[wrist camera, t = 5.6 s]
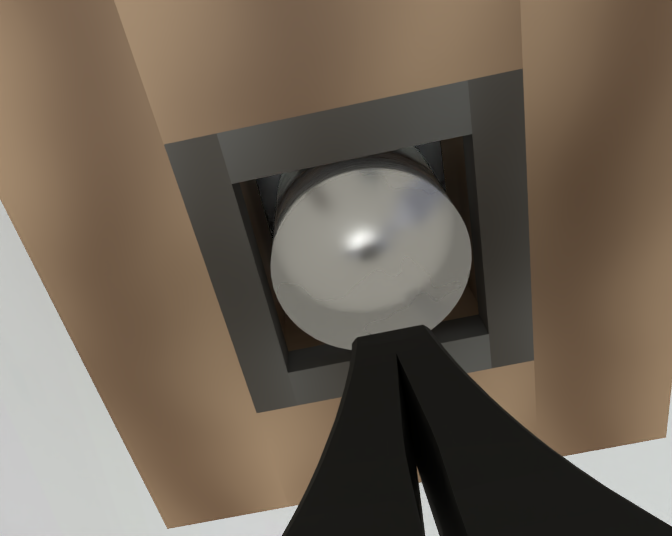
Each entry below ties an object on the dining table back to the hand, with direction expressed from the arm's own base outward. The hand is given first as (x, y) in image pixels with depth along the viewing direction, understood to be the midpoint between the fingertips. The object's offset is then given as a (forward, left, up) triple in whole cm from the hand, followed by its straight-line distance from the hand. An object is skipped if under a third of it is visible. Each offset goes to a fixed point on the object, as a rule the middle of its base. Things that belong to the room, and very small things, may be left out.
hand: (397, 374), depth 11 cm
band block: (0, 0, -9) cm, 9 cm away
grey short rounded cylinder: (0, 0, -9) cm, 9 cm away
